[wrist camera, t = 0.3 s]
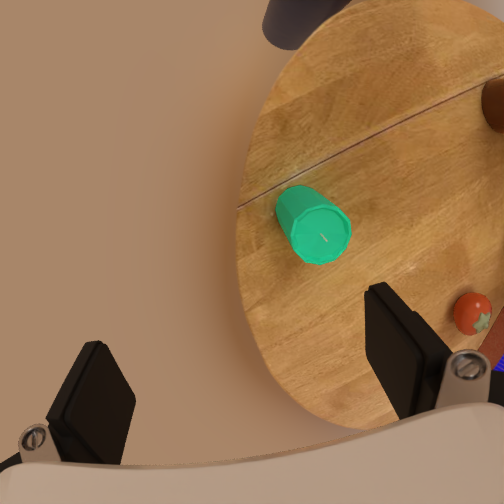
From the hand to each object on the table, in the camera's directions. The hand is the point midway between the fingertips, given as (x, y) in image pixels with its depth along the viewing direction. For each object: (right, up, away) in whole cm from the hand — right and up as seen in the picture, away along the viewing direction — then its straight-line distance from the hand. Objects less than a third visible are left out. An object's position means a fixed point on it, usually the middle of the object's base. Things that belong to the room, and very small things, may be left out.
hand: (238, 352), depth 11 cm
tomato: (+37, -6, +37) cm, 52 cm away
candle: (+6, +9, +29) cm, 31 cm away
